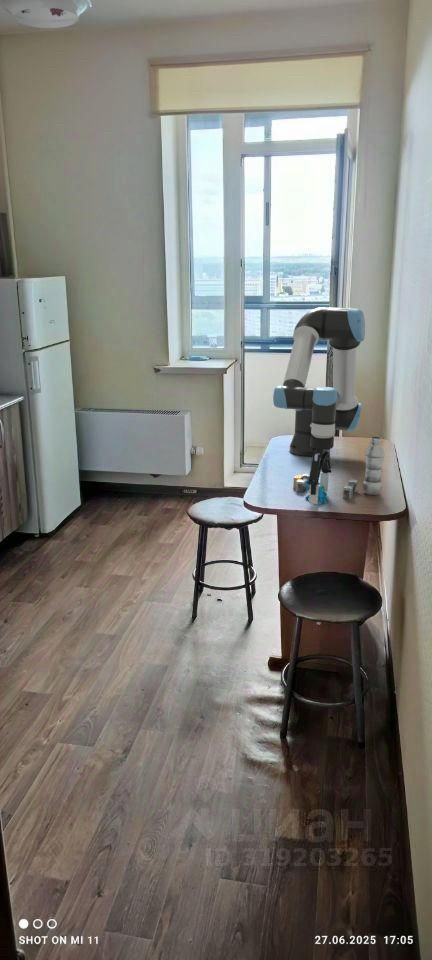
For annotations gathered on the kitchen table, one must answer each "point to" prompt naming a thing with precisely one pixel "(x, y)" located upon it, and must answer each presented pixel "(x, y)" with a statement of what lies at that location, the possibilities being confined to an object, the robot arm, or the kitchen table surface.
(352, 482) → the support blocks
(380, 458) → the plastic bottle
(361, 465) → the kitchen table surface
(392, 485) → the kitchen table surface
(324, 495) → the gear
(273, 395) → the robot arm
